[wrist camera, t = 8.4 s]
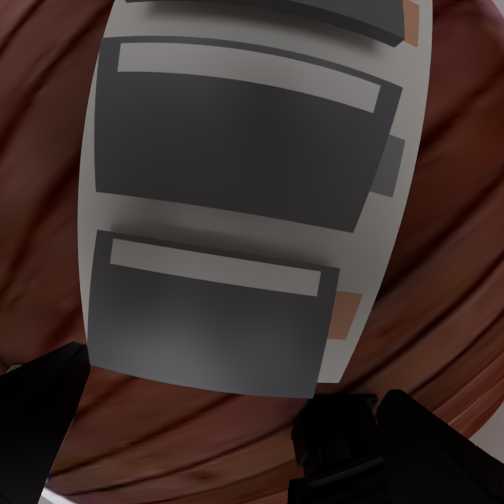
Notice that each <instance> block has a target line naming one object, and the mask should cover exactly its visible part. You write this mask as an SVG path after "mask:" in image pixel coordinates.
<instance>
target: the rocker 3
mask: <svg viewBox="0 0 504 504" xmlns="http://www.w3.org/2000/svg"><path fill="white" fill-rule="evenodd" d="M339 272H340V268H335V267H329V266H323V265H316V264H310V263H304V262H297V261H291V260H285V259H279V258H272V257H266V256H260V255H253V254H247V253H241V252H235V251H228V250H222V249H216V248H210V247H203V246H197V245H191V244H185V243H178V242H172V241H166V240H160V239H153V238H147V237H141V236H135V235H129V234H123V233H116V232H110V231H104V230H98V229H97V234H96V241H95V248H94V256H93V264H92V273H91V283H90V294H89V309H88V330H87V347H88V353H89V360H90V365H94V366H97V367H101V368H105V369H108V370H112V371H116V372H120V373H124V374H128V375H132V376H136V377H141V378H145V379H150V380H155V381H160V382H165V383H170V384H175V385H181V386H187V387H193V388H199V389H206V390H213V391H220V392H228V393H237V394H246V395H257V396H269V397H284V398H307V399H313V396H314V392H315V388H316V385H317V381H318V376H319V372H320V368H321V364H322V360H323V355H324V351H325V346H326V342H327V337H328V332H329V327H330V322H331V317H332V312H333V307H334V301H335V296H336V290H337V284H338V278H339Z"/></svg>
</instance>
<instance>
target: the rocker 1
mask: <svg viewBox="0 0 504 504" xmlns="http://www.w3.org/2000/svg"><path fill="white" fill-rule="evenodd" d="M125 1H126V3H132V2H149V1H194V2H211V3H223V4H233V5H241V6H248V7H255V8H261V9H267V10H273V11H278V12H283V13H288V14H292V15H297V16H301V17H305V18H309V19H313V20H317V21H320V22H324V23H327V24H331V25H334V26H337V27H340V28H344V29H347V30H350V31H353V32H355V33H358V34H361V35H364V36H367V37H369V38H372V39H374V40H377V41H380V42H382V43H384V44H387V45H389V46H392V47H394V48H395V47H396V46H397V45H398V44H400V43H401V42H402V41H403V40H405V28H404V10H403V0H125Z"/></svg>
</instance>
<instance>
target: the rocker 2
mask: <svg viewBox="0 0 504 504" xmlns="http://www.w3.org/2000/svg"><path fill="white" fill-rule="evenodd" d="M402 89H403V87H401V86H398V85H396V84H393V83H391V82H388V81H386V80H383V79H381V78H378V77H376V76H373V75H370V74H367V73H365V72H362V71H359V70H356V69H353V68H350V67H347V66H344V65H340V64H337V63H334V62H331V61H327V60H324V59H320V58H316V57H312V56H309V55H305V54H300V53H296V52H292V51H287V50H283V49H278V48H273V47H268V46H262V45H256V44H250V43H244V42H237V41H229V40H221V39H211V38H199V37H183V36H123V37H107V38H101V43H100V51H99V59H98V69H97V80H96V94H95V116H94V165H95V187H96V192H101V193H109V194H117V195H125V196H133V197H140V198H148V199H155V200H162V201H169V202H176V203H183V204H190V205H196V206H203V207H209V208H216V209H222V210H228V211H234V212H240V213H246V214H252V215H258V216H264V217H270V218H275V219H281V220H286V221H292V222H297V223H303V224H308V225H314V226H319V227H324V228H329V229H334V230H339V231H344V232H349V233H353V232H354V230H355V227H356V225H357V222H358V220H359V217H360V215H361V212H362V210H363V207H364V204H365V202H366V199H367V197H368V194H369V191H370V189H371V186H372V183H373V180H374V178H375V175H376V172H377V169H378V166H379V163H380V160H381V157H382V155H383V152H384V149H385V146H386V143H387V139H388V136H389V133H390V130H391V127H392V124H393V120H394V117H395V114H396V110H397V107H398V104H399V100H400V97H401V93H402Z"/></svg>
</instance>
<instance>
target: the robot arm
mask: <svg viewBox="0 0 504 504" xmlns="http://www.w3.org/2000/svg"><path fill="white" fill-rule="evenodd" d="M89 373H90V360H89V353H88V347H87V346H86V345H85V344H82V343H79V342H76V341H73V342H71V343H69V344H66V345H64V346H62V347H60V348H58V349H56V350H54V351H52V352H49V353H47V354H45V355H43V356H41V357H39V358H37V359H35V360H33V361H30V362H28V363H26V364H24V365H22V366H20V367H18V368H15V369H13V370H11V371H9V372H7V373H5V374H3V375H1V376H0V504H38V501H39V499H40V496H41V493H42V491H43V488H44V485H45V483H46V480H47V478H48V475H49V473H50V470H51V468H52V465H53V463H54V461H55V458H56V456H57V454H58V451H59V449H60V447H61V444H62V442H63V440H64V438H65V435H66V433H67V431H68V429H69V427H70V425H71V422H72V420H73V418H74V416H75V413H76V410H77V408H78V405H79V402H80V399H81V396H82V393H83V390H84V387H85V384H86V382H87V379H88V376H89ZM378 400H379V399H378V397H377V395H343V396H331V395H315V396H313V399H309V400H308V402H307V404H306V407H305V409H304V411H303V413H302V414H301V415H300V416H299V417H298V419H297V421H296V423H295V425H294V428H293V430H292V435H291V440H292V441H293V444H294V450H295V457H296V463H297V466H298V467H299V468H303V469H304V475H305V477H303V478H300V479H292V480H290V481H289V489H288V502H287V504H504V464H503V463H502V462H500V461H499V460H497V459H495V458H494V457H492V456H490V455H489V454H488V453H486V452H485V451H483V450H482V449H481V448H479V447H478V446H475V444H473V443H472V442H471V441H469V440H468V439H467V438H465V437H464V436H463V435H461V434H460V433H459V432H457V431H456V430H454V429H453V428H452V427H450V426H449V425H448V424H446V423H445V422H444V421H442V420H441V419H440V418H438V417H437V416H436V415H434V414H433V413H432V412H430V411H429V410H427V409H426V408H425V407H423V406H422V405H421V404H419V403H418V402H417V401H415V400H414V399H413V398H411V397H410V396H409V395H408V394H406V393H405V392H404V391H402V390H400V389H392V390H389V391H388V392H387V393H386V395H385V396H384V398H383V399H382V401H381V402H380V404H379V406H378V407H377V412H376V415H377V422H378V426H377V424H376V421H375V419H374V416H373V414H372V410H373V408H374V407H375V405H376V404H377V402H378Z"/></svg>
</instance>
